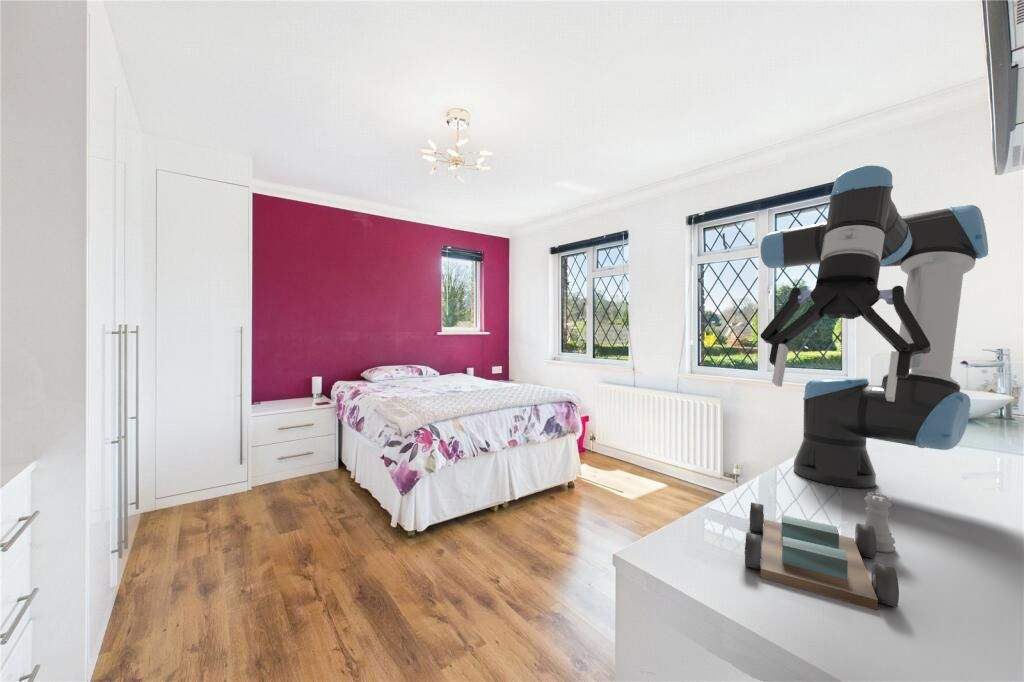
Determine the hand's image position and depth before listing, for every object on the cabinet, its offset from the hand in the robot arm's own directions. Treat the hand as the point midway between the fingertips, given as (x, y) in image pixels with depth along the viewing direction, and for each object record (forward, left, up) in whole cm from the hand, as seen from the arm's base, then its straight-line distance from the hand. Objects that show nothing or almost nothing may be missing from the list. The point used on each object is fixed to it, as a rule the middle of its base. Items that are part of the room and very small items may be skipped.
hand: (828, 391), depth 62 cm
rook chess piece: (-7, +7, -25) cm, 27 cm away
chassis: (+4, -2, -24) cm, 25 cm away
